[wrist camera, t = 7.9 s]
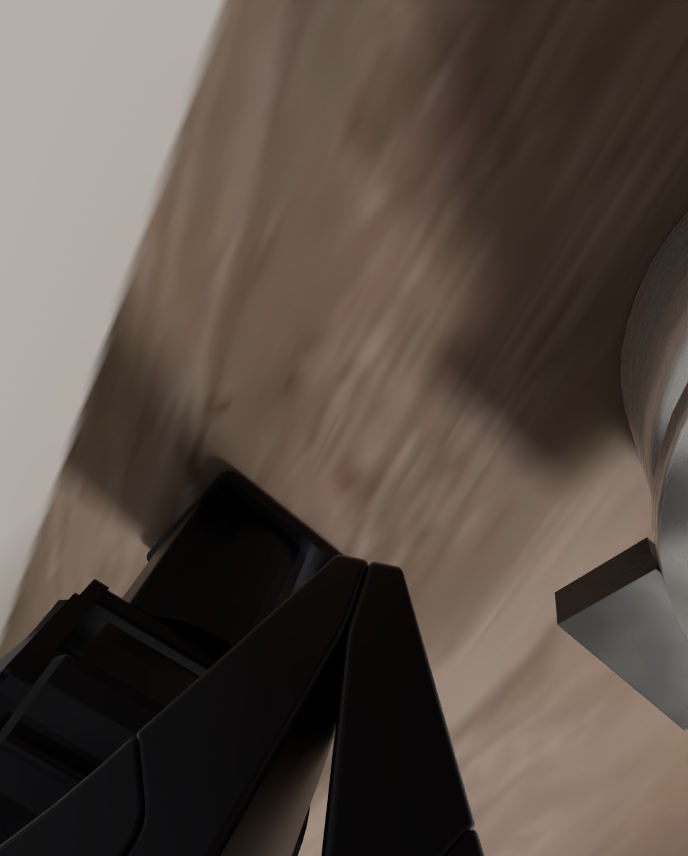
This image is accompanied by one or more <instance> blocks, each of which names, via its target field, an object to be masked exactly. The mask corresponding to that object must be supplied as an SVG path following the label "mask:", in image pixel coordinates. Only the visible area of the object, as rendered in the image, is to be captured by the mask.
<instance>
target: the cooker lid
mask: <svg viewBox="0 0 688 856" xmlns="http://www.w3.org/2000/svg"><path fill="white" fill-rule="evenodd" d="M652 532H653V537H654V543H655V548H656V554H657V559H658V563H659V567H660V570H661V574H662V577H663V580H664V584H665V587H666V591H667V594H668V596H669V599H670V602H671V604H672V607H673V610H674V612H675V615H676V618H677V620H678V623H679V626H680V627H681V629H682V631H683V632H684V634H685V636H686V637H687V639H688V383H687V384H686V386H685V388H684V390H683V392H682V394H681V396H680V398H679V400H678V402H677V404H676V406H675V408H674V410H673V412H672V415H671V418H670V421H669V424H668V426H667V429H666V432H665V435H664V438H663V441H662V444H661V447H660V450H659V453H658V458H657V464H656V470H655V476H654V482H653V488H652Z"/></svg>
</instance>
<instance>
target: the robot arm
mask: <svg viewBox="0 0 688 856" xmlns="http://www.w3.org/2000/svg"><path fill="white" fill-rule="evenodd" d="M224 483H228V484H229V485H230V486H231V487H232V488H229V487H227V486H226V485H225V484H224ZM147 560H148V564H147V565H146V566H145V568H144V569H143V570H142V572H141V573H140V575H139V576H138V577H137V579H136V580H135V581H134V583H133V584H132V586H131V587H130V588H129V590H128V591H127V592H126V594H125V595H124V597H123V598H122V599H121V598H120V597H118V596H116V595H115V594H113V593H111V592H110V591H108V588H109V587H107V586H106V585H104V584H102V583H101V582H99V581H97V580H96V579H94V580H93V581H92V582H91V583H90V584H89V585H88V587H87V588H86V589H85V590H84V591H83V592H82V593H81V594H80V595H78V594H77V593H74V594H73V595H72V596H71V598H70V599H69V600H59V601H58V602H57V603H56V604H55V605H54V607H53V608H52V609H51V610H50V611H49V613H48V614H47V615H46V616H45V617H44V619H43V620H42V621H41V622H40V623H39V624H38V626H37V627H36V628H35V629H34V630H33V631H32V632H31V633H30V634H29V636H28V637H27V638H26V639H24V640H23V641H22V642H21V643H20V644H19V645H18V646H16V647H15V648H14V649H13V650H12V651H10V652H9V653H8V654H7V655H5V656H4V657H3V658H2V659H1V660H0V856H298V853H299V850H300V847H301V845H302V842H303V838H304V834H305V830H306V827H307V822H308V816H309V810H310V803H311V801H312V798H313V795H314V792H315V790H316V787H317V784H318V781H319V778H320V776H321V773H322V770H323V767H324V765H325V762H326V759H327V756H328V753H329V750H330V747H331V744H332V741H333V738H334V747H333V756H332V765H331V774H330V783H329V792H328V801H327V810H326V819H325V828H324V838H323V847H322V856H484V854H483V850H482V847H481V843H480V840H479V836H478V833H477V832H476V831H475V830H473V828H474V820H473V816H472V813H471V809H470V806H469V802H468V799H467V795H466V792H465V788H464V785H463V781H462V778H461V774H460V771H459V767H458V764H457V760H456V757H455V753H454V749H453V746H452V742H451V739H450V735H449V732H448V728H447V725H446V721H445V718H444V714H443V711H442V707H441V704H440V700H439V697H438V693H437V690H436V686H435V683H434V679H433V675H432V672H431V668H430V665H429V661H428V658H427V654H426V651H425V647H424V644H423V640H422V637H421V633H420V630H419V626H418V623H417V619H416V616H415V612H414V609H413V605H412V601H411V598H410V594H409V591H408V587H407V584H406V580H405V577H404V573H403V571H402V569H400V568H399V567H397V566H392V565H387V564H383V563H378V562H372V563H370V565H369V566H368V563H367V562H366V561H365V560H363V559H359V558H354V557H350V556H345V555H336V554H335V553H334V552H333V551H331V550H330V549H329V548H328V547H326V546H325V545H324V544H323V543H321V542H320V541H319V540H318V539H316V538H315V537H314V536H313V535H311V534H310V533H309V532H308V531H306V530H305V529H304V528H303V527H301V526H300V525H299V524H298V523H296V522H295V521H294V520H292V519H291V518H290V517H289V516H287V515H286V514H285V513H284V512H282V511H281V510H280V509H279V508H277V507H276V506H275V505H274V504H272V503H271V502H270V501H269V500H267V499H266V498H265V497H264V496H262V495H261V494H260V493H259V492H257V491H256V490H255V489H254V488H252V487H251V486H250V485H249V484H247V483H246V482H245V481H243V480H242V479H241V478H240V477H238V476H237V475H236V474H234V473H232V472H228V471H226V472H222V473H220V474H219V475H218V476H217V477H216V478H215V479H214V481H213V482H212V483H211V484H210V485H209V486H208V487H207V488H206V489H205V490H204V491H203V493H202V494H201V495H200V496H199V497H198V498H197V499H196V500H195V501H194V502H193V503H192V505H191V506H190V507H189V508H188V509H187V510H186V511H185V512H184V513H183V514H182V515H181V516H180V518H179V519H178V520H177V521H176V522H175V523H174V524H173V525H172V526H171V527H170V528H169V530H168V531H167V532H166V533H165V534H164V535H163V536H162V537H161V538H160V539H159V540H158V542H157V543H156V544H155V545H154V546H153V547H152V548H151V550H150V551H149V552H148V554H147ZM334 734H335V737H334Z"/></svg>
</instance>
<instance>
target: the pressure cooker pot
mask: <svg viewBox="0 0 688 856" xmlns="http://www.w3.org/2000/svg"><path fill="white" fill-rule="evenodd" d="M620 380H621V388H622V397H623V405H624V409H625V412H626V416H627V419H628V423H629V426H630V430H631V433H632V436H633V439H634V442H635V445H636V448H637V451H638V454H639V457H640V461H641V464H642V467H643V470H644V473H645V476H646V479H647V482H648V485H649V488H650V491H651V494H652V488H653V482H654V476H655V470H656V464H657V458H658V453H659V450H660V447H661V444H662V441H663V438H664V435H665V432H666V429H667V426H668V424H669V421H670V418H671V415H672V412H673V410H674V408H675V406H676V404H677V402H678V400H679V398H680V396H681V394H682V392H683V390H684V388H685V386H686V384H687V383H688V211H687V212H686V213H685V215H684V216H683V217H682V218H681V219H680V221H679V222H678V223H677V224H676V225H675V227H674V228H673V229H672V231H671V232H670V234H669V236H668V237H667V239H666V240H665V242H664V243H663V245H662V246H661V248H660V249H659V251H658V252H657V254H656V255H655V257H654V258H653V260H652V262H651V264H650V266H649V268H648V270H647V272H646V274H645V276H644V278H643V280H642V282H641V284H640V286H639V288H638V291H637V293H636V296H635V299H634V302H633V305H632V308H631V311H630V314H629V317H628V320H627V324H626V329H625V335H624V340H623V345H622V350H621V374H620ZM555 600H556V612H557V624H558V625H559V626H560V627H561V628H562V629H563V630H565V631H566V632H567V633H568V634H569V635H571V636H572V637H573V638H574V639H575V640H577V641H578V642H579V643H580V644H581V645H583V646H584V647H585V648H586V649H587V650H589V651H590V652H591V653H592V654H593V655H595V656H596V657H597V658H598V659H599V660H601V661H602V662H603V663H604V664H605V665H607V666H608V667H609V668H610V669H611V670H613V671H614V672H615V673H616V674H617V675H619V676H620V677H621V678H622V679H623V680H625V681H626V682H627V683H628V684H629V685H630V686H632V687H633V688H634V689H635V690H636V691H638V692H639V693H640V694H641V695H642V696H644V697H645V698H646V699H647V700H648V701H650V702H651V703H652V704H653V705H654V706H656V707H657V708H658V709H659V710H660V711H662V712H663V713H664V714H665V715H666V716H668V717H669V718H670V719H671V720H672V721H674V722H675V723H676V724H677V725H678V726H680V727H681V728H682V729H683V730H685V729H687V728H688V639H687V637H686V636H685V634H684V632H683V631H682V629H681V627H680V626H679V623H678V620H677V618H676V615H675V612H674V610H673V607H672V604H671V602H670V599H669V596H668V594H667V591H666V587H665V584H664V580H663V577H662V574H661V570H660V567H659V563H658V559H657V554H656V548H655V544H654V543H653V542H652V541H650V540H649V539H648V538H645V539H644V540H642V541H640V542H639V543H637V544H635V545H634V546H632V547H630V548H629V549H627V550H625V551H624V552H622V553H620V554H619V555H617V556H615V557H613V558H612V559H610V560H608V561H607V562H605V563H603V564H602V565H600V566H598V567H597V568H595V569H593V570H592V571H590V572H588V573H587V574H585V575H583V576H582V577H580V578H578V579H577V580H575V581H573V582H572V583H570V584H568V585H567V586H565V587H563V588H562V589H560V590H558V591H557V592H555Z"/></svg>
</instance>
